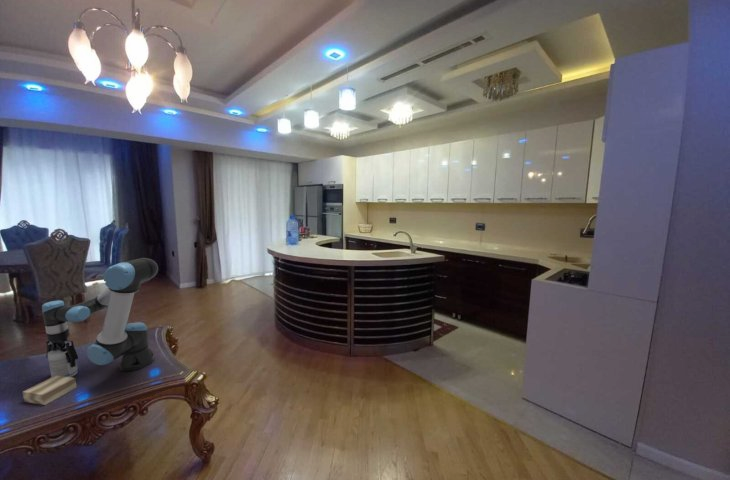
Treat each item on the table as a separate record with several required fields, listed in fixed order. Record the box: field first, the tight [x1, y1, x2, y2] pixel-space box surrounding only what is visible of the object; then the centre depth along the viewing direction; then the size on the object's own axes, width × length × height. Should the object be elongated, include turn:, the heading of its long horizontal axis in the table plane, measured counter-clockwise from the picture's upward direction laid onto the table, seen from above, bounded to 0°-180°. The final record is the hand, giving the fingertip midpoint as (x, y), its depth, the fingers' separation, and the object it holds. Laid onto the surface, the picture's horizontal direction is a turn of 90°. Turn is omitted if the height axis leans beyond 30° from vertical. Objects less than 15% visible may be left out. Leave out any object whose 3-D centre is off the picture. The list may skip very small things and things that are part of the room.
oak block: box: [22, 375, 77, 406], centre depth 131 cm, size 12×12×5 cm
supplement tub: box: [47, 347, 79, 378], centre depth 143 cm, size 10×10×15 cm
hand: (64, 371), depth 144 cm, fingers closed on supplement tub, 10 cm apart
